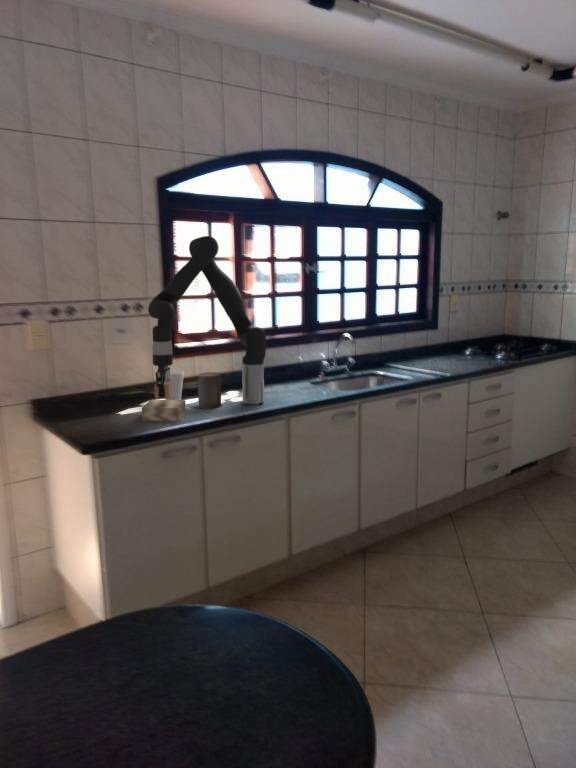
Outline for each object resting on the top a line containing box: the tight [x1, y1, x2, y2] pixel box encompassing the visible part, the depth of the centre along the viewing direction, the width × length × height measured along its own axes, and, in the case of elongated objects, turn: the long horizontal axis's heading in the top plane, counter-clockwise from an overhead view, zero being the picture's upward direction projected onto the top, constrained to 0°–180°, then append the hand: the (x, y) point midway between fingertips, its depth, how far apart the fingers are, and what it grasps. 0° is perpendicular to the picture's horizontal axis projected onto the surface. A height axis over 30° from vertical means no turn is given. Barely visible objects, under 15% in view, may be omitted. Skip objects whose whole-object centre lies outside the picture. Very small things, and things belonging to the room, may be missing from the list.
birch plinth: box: [141, 399, 187, 422], centre depth 225 cm, size 14×14×5 cm
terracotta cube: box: [154, 382, 172, 400], centre depth 223 cm, size 6×6×6 cm
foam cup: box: [165, 369, 185, 400], centre depth 250 cm, size 10×9×13 cm
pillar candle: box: [197, 370, 222, 409], centre depth 242 cm, size 10×10×15 cm
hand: (163, 395), depth 224 cm, fingers closed on terracotta cube, 5 cm apart
